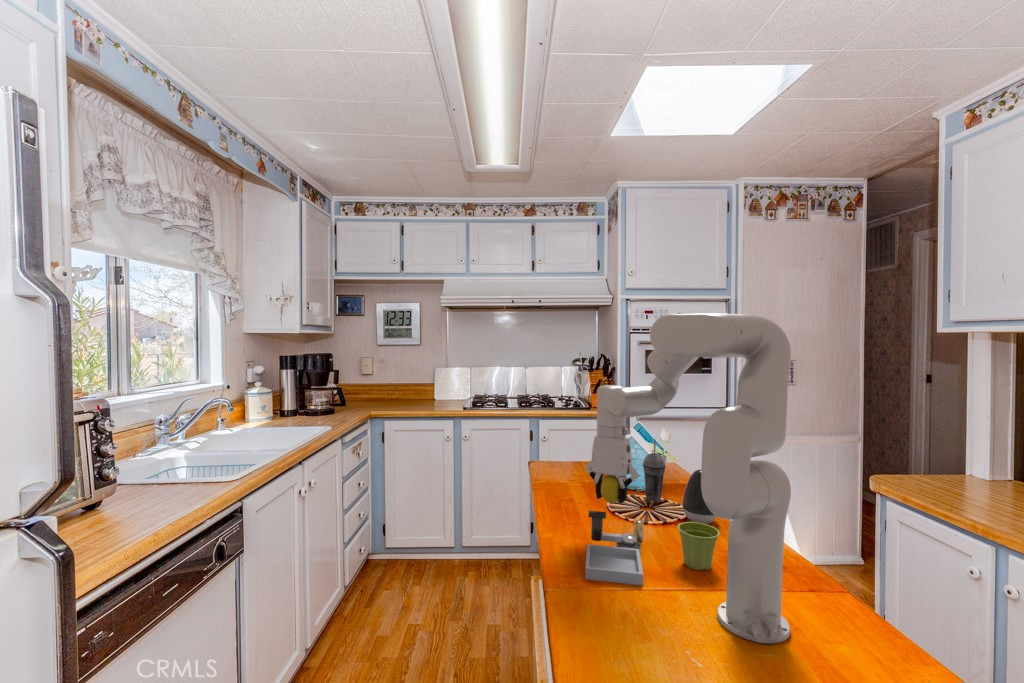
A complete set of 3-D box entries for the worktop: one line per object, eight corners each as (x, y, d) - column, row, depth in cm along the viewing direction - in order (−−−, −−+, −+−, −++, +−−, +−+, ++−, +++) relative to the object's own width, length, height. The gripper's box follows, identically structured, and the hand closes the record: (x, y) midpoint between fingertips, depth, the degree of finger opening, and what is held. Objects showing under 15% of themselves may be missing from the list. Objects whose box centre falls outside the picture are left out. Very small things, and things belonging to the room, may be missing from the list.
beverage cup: (641, 502, 161) (643, 441, 160) (642, 495, 168) (643, 436, 167) (664, 505, 159) (666, 443, 158) (664, 497, 166) (666, 438, 165)
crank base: (646, 557, 122) (646, 537, 122) (616, 554, 123) (617, 535, 123) (642, 538, 133) (643, 519, 133) (615, 535, 135) (615, 517, 135)
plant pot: (681, 552, 125) (682, 518, 125) (721, 562, 120) (722, 527, 120) (672, 567, 117) (673, 531, 117) (715, 578, 112) (716, 540, 112)
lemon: (597, 505, 130) (597, 475, 130) (604, 499, 135) (604, 470, 135) (618, 508, 128) (618, 478, 128) (624, 502, 133) (624, 473, 133)
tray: (642, 585, 109) (643, 574, 109) (585, 579, 111) (585, 568, 111) (638, 559, 121) (639, 549, 121) (586, 554, 123) (587, 544, 123)
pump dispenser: (683, 525, 142) (685, 473, 142) (680, 512, 153) (681, 463, 152) (721, 529, 140) (723, 476, 140) (715, 516, 150) (717, 466, 150)
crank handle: (636, 539, 127) (636, 512, 127) (637, 545, 123) (637, 518, 123) (588, 534, 129) (588, 508, 129) (587, 541, 125) (588, 514, 125)
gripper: (647, 433, 130) (647, 502, 130) (588, 426, 139) (588, 490, 139) (636, 437, 123) (636, 510, 123) (575, 430, 133) (575, 497, 133)
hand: (611, 499), depth 131 cm, fingers closed on lemon, 5 cm apart
